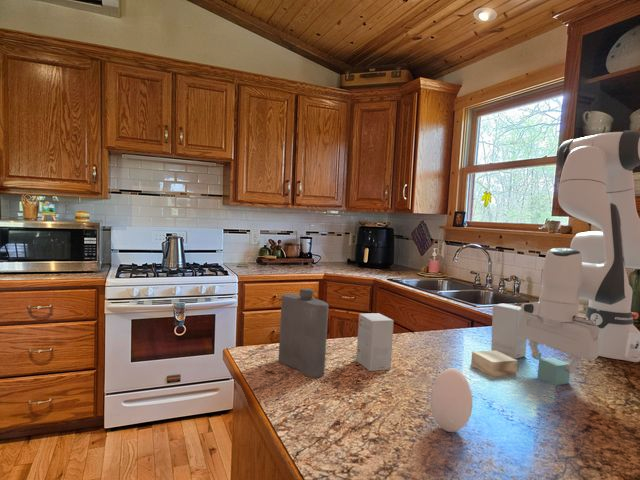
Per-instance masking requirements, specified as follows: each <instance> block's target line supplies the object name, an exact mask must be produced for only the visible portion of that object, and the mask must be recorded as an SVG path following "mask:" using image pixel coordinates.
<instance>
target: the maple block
mask: <svg viewBox="0 0 640 480" xmlns="http://www.w3.org/2000/svg"><path fill="white" fill-rule="evenodd" d="M470 361H471V362H470V366H472V367H475V368H476V369H477V370H479V371H482V372H483V373H485V374H486V375H488V376H489V377H500V376H513V375H517V372H518V359H515V358H511V357H509V356H507V355H505V354H503V353H501V352H499V351H496V350H493V351H491V350H481V351H480V350H477V351H472V352H471V360H470Z"/></svg>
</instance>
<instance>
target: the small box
mask: <svg viewBox="0 0 640 480" xmlns="http://www.w3.org/2000/svg"><path fill="white" fill-rule="evenodd" d="M394 324H395V323H394V319H392V318H389V317H388V316H385V315H384V314H381V313H379V312H377V313H373V312H371V313H369V312H368V313H359V314H358V328H357V329H358V330H357V342H356V343H357V344H356V356H355V360H356V362H358V363H359V364H360V365H361V366H363V367H364V368H365V369H366V370H367V371H369V372H375V371H386V370H391V369H392V368H391V367H392V366H391V365H392V354H393V353H392V351H393V350H392V349H393V339H394V338H393V335H394V334H393V333H394Z"/></svg>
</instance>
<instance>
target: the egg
mask: <svg viewBox="0 0 640 480" xmlns="http://www.w3.org/2000/svg"><path fill="white" fill-rule="evenodd" d="M469 383H470V382H469V381H468V379H467V376H466V375H464V374H463V372H462V371H460V370H459V369H457V368H454V367H449V368H447V369H444V370H443V371H441V373H440V374H439V375H438V377H437V378H436V379H435V381H434V383H433V386H432V388H431V394H430V401H429V402H430V403H429V404H430V410H431V414H432V416H433V420H435V422H436V423H437V425H438V426H439V427H440V428H441V429H442V430H444V431H445V432H450V433H455V432H458V431H459V430H461V429H463V428H464V427H465V426H466V425H467V423H468V422H469V420H470V418H471V416H472V411H473V392H472V389H471V387H470V384H469Z"/></svg>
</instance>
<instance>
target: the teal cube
mask: <svg viewBox="0 0 640 480" xmlns="http://www.w3.org/2000/svg"><path fill="white" fill-rule="evenodd" d="M565 364H570V362H566V361H563V360H560V359H558V358H555V357H544V358H541V359H538V366H537V367H538V368H537V378H538V379H540V380H542V381H545V382H547V383H549V384H552V385H554V386H559V385H565V384H570V375H571V373H570V372H567V371H565V368H566V367H565Z"/></svg>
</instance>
